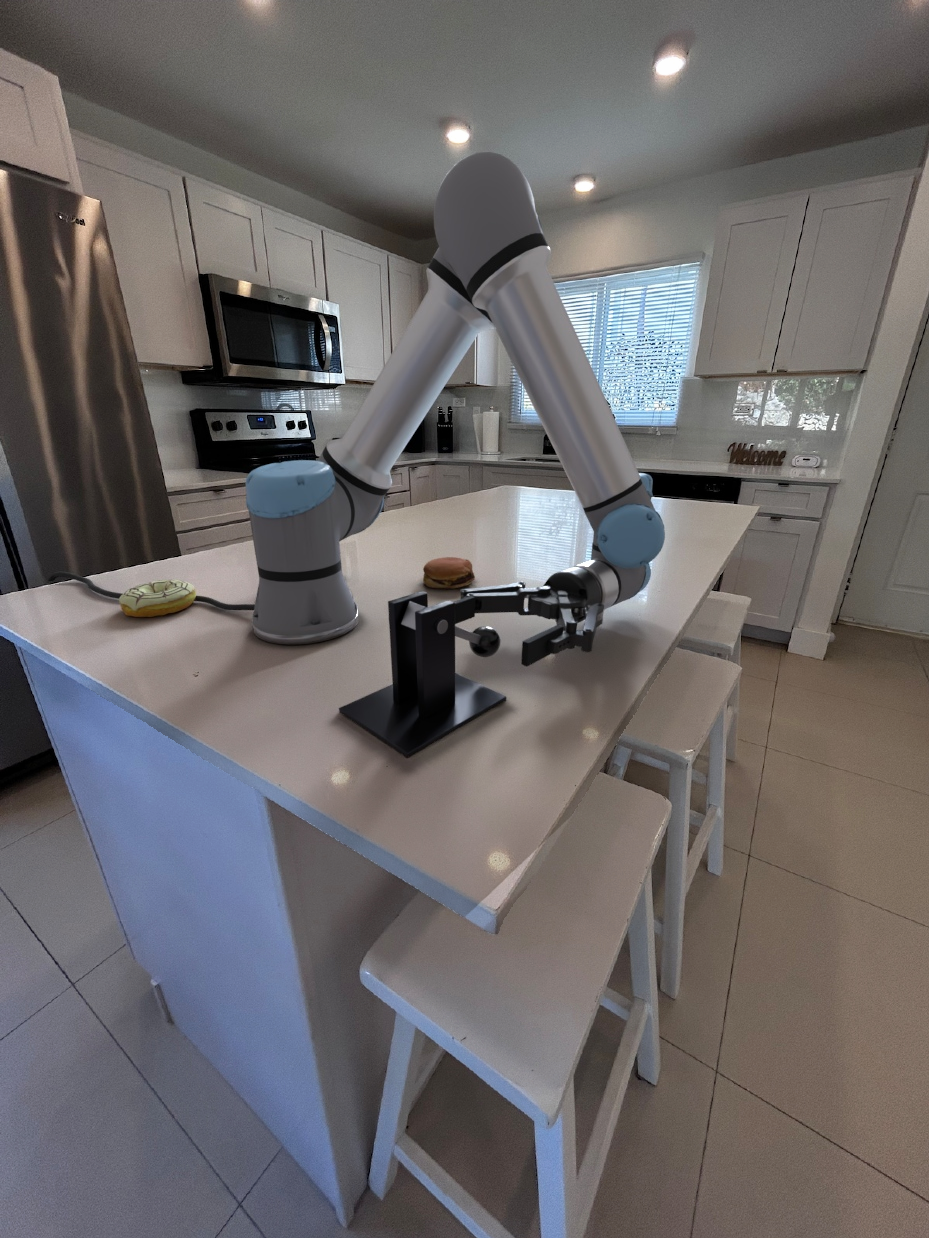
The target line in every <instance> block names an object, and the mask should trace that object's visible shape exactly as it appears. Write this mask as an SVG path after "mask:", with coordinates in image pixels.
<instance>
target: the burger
mask: <svg viewBox="0 0 929 1238" xmlns="http://www.w3.org/2000/svg"><path fill="white" fill-rule="evenodd" d="M422 570H423V578H422V580H423V584H424V585H425V586H426V587H428V588H432V589H458V588H463V587H466V586H469V585H471V584H472V583H473V581H475V579H476V578H475V577H476V576H475V572H474V571H473V563H472V561H470V560H469V559H467V558H466V559H465V558H461V557H455V556H453V557H452V556H444V557H437V558H434V559H431V560H429V561H427V562H426V563H425V564H424V566H423V569H422Z"/></svg>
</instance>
